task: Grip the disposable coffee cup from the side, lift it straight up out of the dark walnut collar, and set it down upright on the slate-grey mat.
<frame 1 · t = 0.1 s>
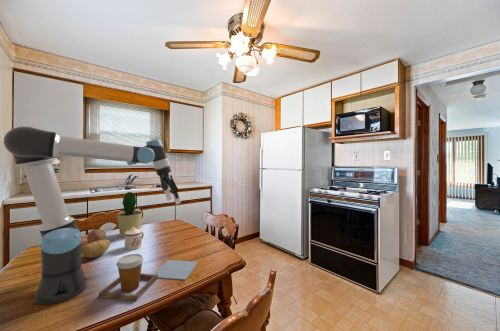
hand: (174, 201, 125), 28 cm above the table, tool tilted 20°, fingers open, 13 cm apart
potato: (96, 256, 115), on the table
onion: (96, 244, 131), on the table
teacup with lid: (135, 246, 129), on the table
walnut collar: (130, 287, 87), on the table
potted cactus: (129, 234, 148), on the table
disposable coffee cup: (130, 288, 87), resting in walnut collar
slate mat: (176, 269, 102), on the table
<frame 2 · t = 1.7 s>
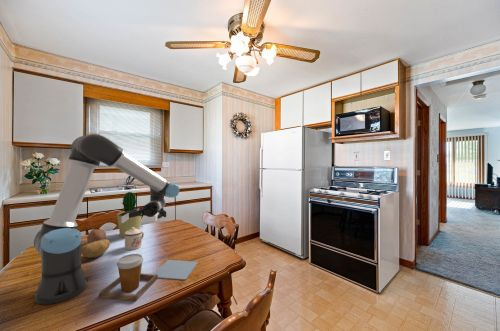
hand: (138, 219, 96), 25 cm above the table, tool horizontal, fingers open, 13 cm apart
nothing on the table moved.
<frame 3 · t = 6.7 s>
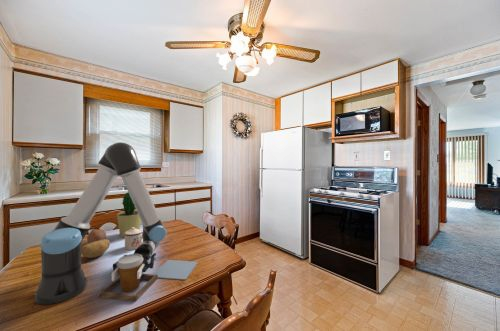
hand: (125, 276, 83), 7 cm above the table, tool horizontal, fingers closed on disposable coffee cup, 8 cm apart
disposable coffee cup: (130, 288, 87), resting in walnut collar, touching gripper
everything else where it was.
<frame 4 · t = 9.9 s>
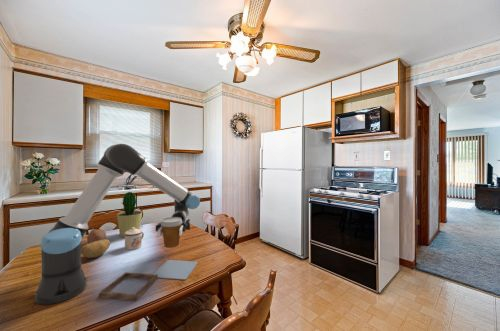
hand: (169, 233, 95), 20 cm above the table, tool horizontal, fingers closed on disposable coffee cup, 8 cm apart
disposable coffee cup: (171, 245, 100), point 12 cm above the table, touching gripper
everything else where it was.
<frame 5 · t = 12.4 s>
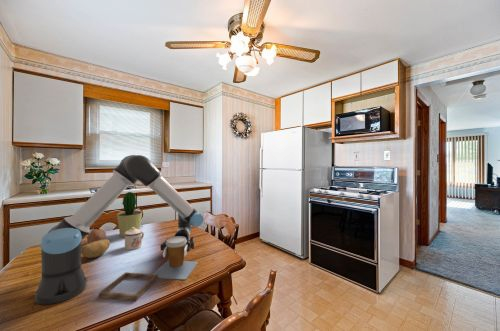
hand: (174, 253, 97), 10 cm above the table, tool horizontal, fingers closed on disposable coffee cup, 8 cm apart
disposable coffee cup: (176, 264, 102), point 2 cm above the table, touching gripper
everything else where it was.
when the fingers open (9 cm above the table, at t = 13.1 s): disposable coffee cup moves 3 cm, resting on slate mat.
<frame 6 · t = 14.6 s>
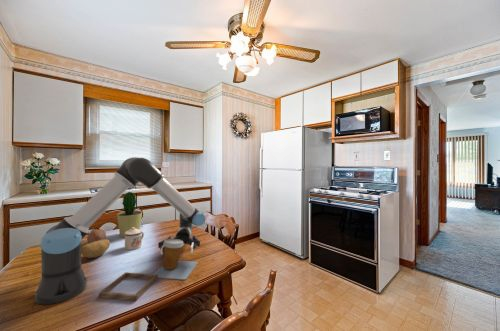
hand: (176, 250, 101), 9 cm above the table, tool horizontal, fingers open, 13 cm apart
disposable coffee cup: (169, 267, 103), point 1 cm above the table, touching gripper, slate mat
everything else where it was.
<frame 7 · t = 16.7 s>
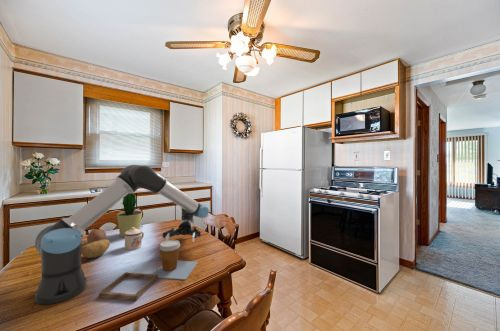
hand: (179, 239, 112), 11 cm above the table, tool horizontal, fingers open, 13 cm apart
disposable coffee cup: (169, 268, 103), resting on slate mat
everything else where it was.
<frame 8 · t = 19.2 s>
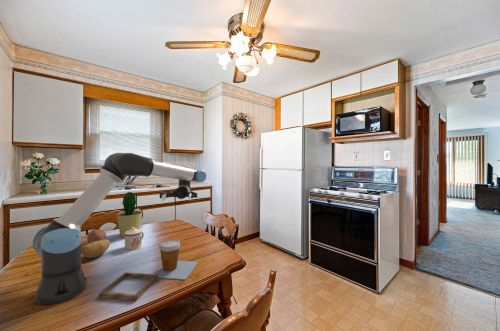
hand: (176, 198, 113), 32 cm above the table, tool horizontal, fingers open, 13 cm apart
nothing on the table moved.
at the end: disposable coffee cup inside the target area on the slate mat (3.2 cm from its centre), point 0.2 cm above the slate mat's base; disposable coffee cup tilted 0°; the gripper is holding nothing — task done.
